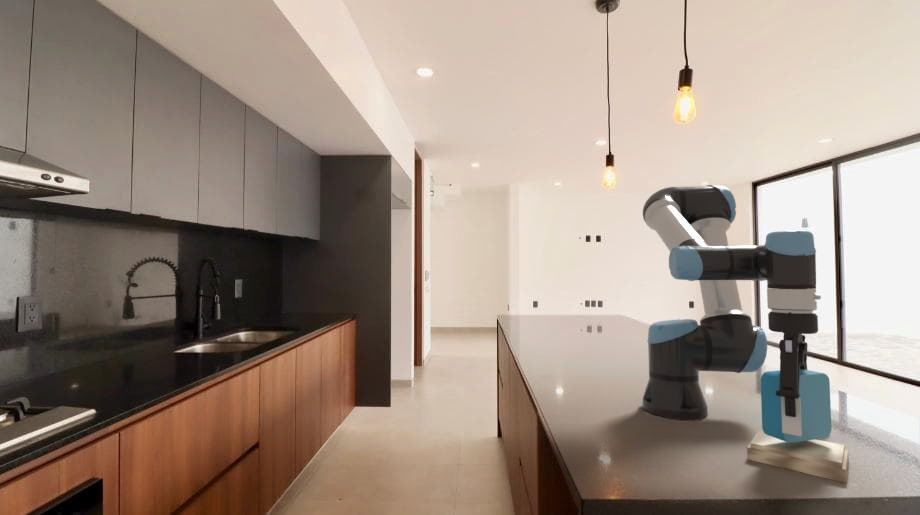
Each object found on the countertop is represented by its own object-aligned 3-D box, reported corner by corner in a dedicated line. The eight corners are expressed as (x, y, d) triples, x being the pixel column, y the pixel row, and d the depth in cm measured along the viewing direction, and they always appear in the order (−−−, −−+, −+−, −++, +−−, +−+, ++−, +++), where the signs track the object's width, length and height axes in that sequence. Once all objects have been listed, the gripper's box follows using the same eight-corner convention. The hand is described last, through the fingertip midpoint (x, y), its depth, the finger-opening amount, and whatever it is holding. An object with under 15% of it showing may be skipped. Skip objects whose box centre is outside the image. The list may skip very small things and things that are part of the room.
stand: (747, 459, 82) (747, 443, 82) (758, 442, 91) (758, 427, 91) (846, 483, 72) (845, 464, 73) (848, 461, 81) (848, 445, 81)
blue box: (807, 429, 86) (804, 368, 86) (832, 437, 81) (829, 372, 82) (761, 435, 82) (759, 371, 83) (785, 444, 78) (783, 376, 79)
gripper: (811, 316, 72) (816, 448, 70) (822, 309, 89) (826, 414, 88) (756, 313, 77) (760, 437, 76) (777, 307, 95) (781, 407, 93)
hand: (796, 425), depth 82 cm, fingers closed on blue box, 12 cm apart
